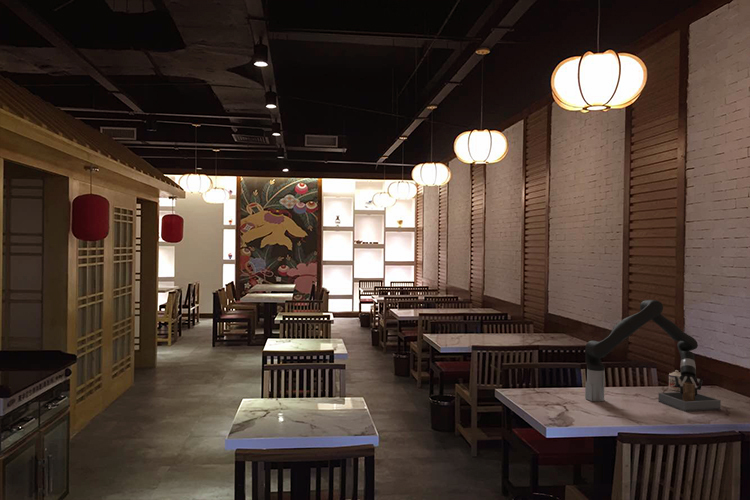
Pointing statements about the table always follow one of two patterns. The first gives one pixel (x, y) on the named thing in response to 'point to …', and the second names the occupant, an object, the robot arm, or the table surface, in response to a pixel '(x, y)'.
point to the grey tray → (689, 402)
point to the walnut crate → (688, 391)
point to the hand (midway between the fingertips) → (688, 394)
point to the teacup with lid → (672, 380)
